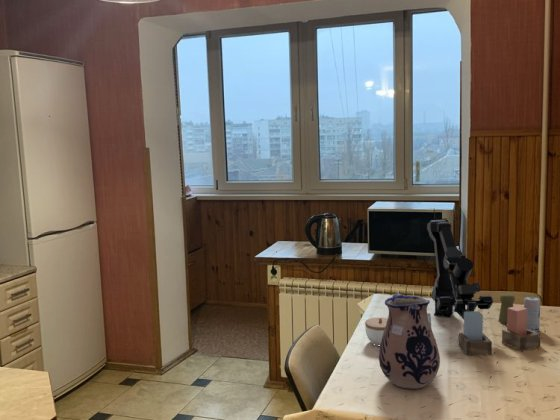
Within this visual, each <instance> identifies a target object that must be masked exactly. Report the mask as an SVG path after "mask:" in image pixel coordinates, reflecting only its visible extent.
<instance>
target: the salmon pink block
mask: <svg viewBox="0 0 560 420" xmlns="http://www.w3.org/2000/svg"><path fill="white" fill-rule="evenodd" d="M506 330H508V331H510V332H513V333H516V334H519V335H521V336H524V335H527V309H526V308H524V306H520V305H516V306H513V307H510V308H507V324H506Z"/></svg>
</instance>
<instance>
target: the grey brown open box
mask: <svg viewBox="0 0 560 420" xmlns="http://www.w3.org/2000/svg"><path fill="white" fill-rule="evenodd" d="M457 343H458V347H459V348H460V349H461V351H463V353H464V354H465V355H466V356H467V357H468V356H492V355H493V353H492V352H493V351H492V350H493V342H492V340H491V339H490V338H489V337H488V336H487V335H486V334H485V333H484V332H483V335H482V340H478V341H469V340H468V339H467V338H466V337H465V336H464V332H458V342H457Z"/></svg>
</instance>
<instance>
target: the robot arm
mask: <svg viewBox="0 0 560 420" xmlns="http://www.w3.org/2000/svg"><path fill="white" fill-rule="evenodd" d="M426 229H427V232H428V234H429V235H428V236H429V238H430V239H431V240H432V241H433V244H434V253H435V254H434V255H435V265H436V273H437V275H436V276H437V277H436V279H435V281H434V284H433V285H434V286H433V288H432V291H431V299H432V300H433V302H434V313H433V315H434V316H438V317H445V318H451V316H452V315H454V313H457V314H458V315H459V316H460V317H461V318H462V319H463V321H464V312H470V311H475V310H476V309H479V310H489V309H490V308H491V307H492V305H493V303H494V299H493V297H492V296H491V295H479V297H478V299H476V298H475V299H473V298H474V297H475V295H476V293H479V292H481V285H480V282H476V281H475V282H472V284H470V283H469V281H468V278H469V277H470V276H471V275H470V274H471V272H472V271H473V269H474V263H473V261H472V260H471V259H469V258H468V257H466V255H464V253H463V252H462V251H461V250H460V249H459V248H458V247H457V244H456V241H455V238H454V234H453V232H452V223H451V222H450V221H447V220H446V219H436V220H435V219H434V220H433V219H431V220H430V221H429V222H427V225H426ZM450 271H451V272H450Z"/></svg>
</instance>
